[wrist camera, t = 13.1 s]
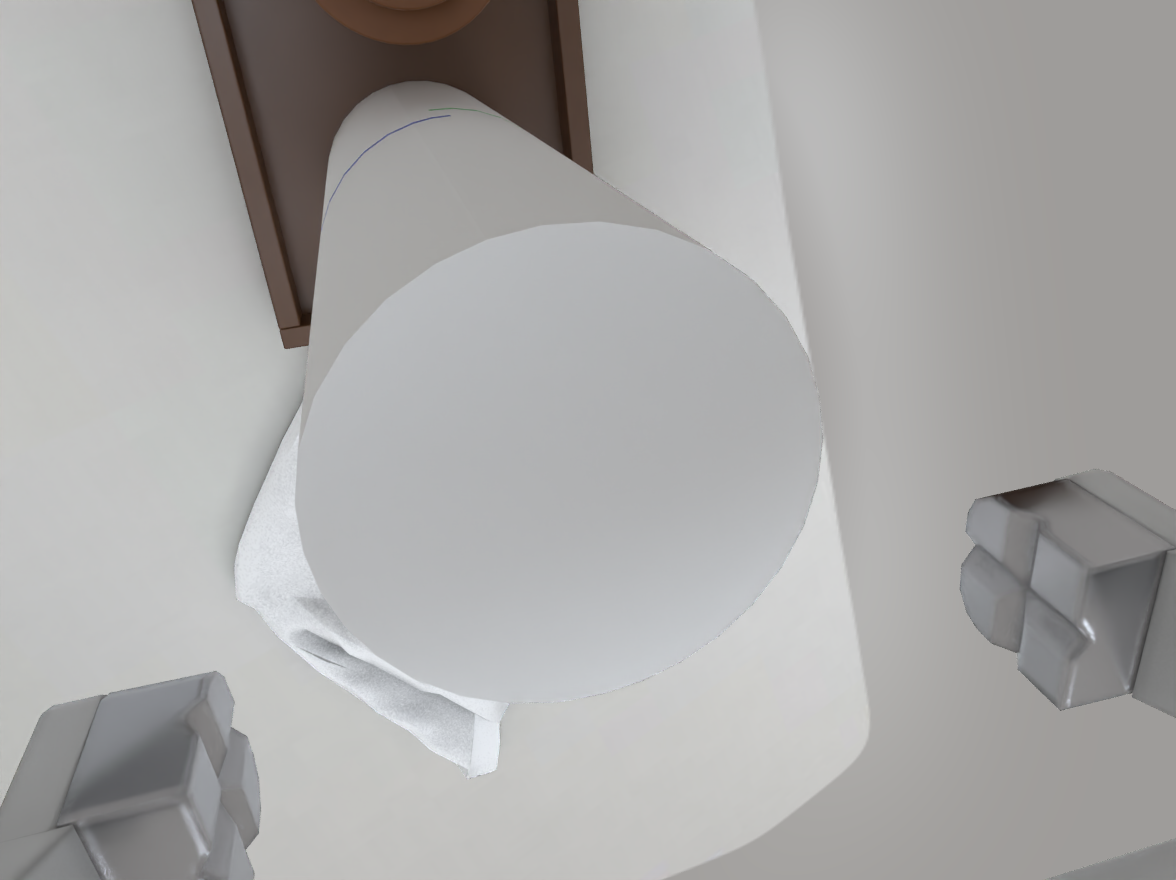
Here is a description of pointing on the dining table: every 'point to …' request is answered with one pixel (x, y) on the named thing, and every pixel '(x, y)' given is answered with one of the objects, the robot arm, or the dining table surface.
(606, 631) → the cylindrical container
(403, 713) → the cloth
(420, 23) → the brown bottle
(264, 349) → the dining table surface
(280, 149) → the tray
